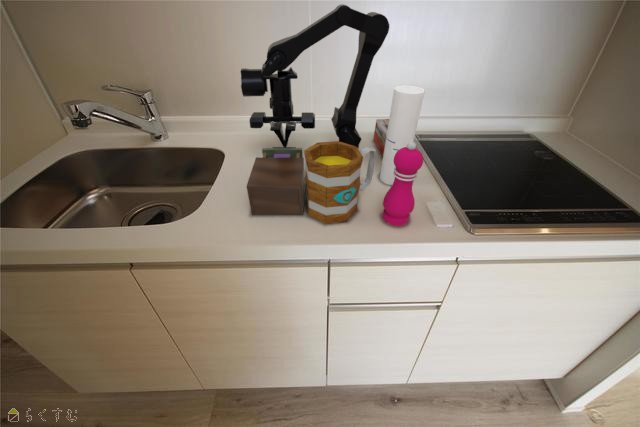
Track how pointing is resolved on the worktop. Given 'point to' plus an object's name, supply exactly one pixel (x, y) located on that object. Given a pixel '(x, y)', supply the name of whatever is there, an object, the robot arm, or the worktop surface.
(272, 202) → the cabinet
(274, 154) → the block
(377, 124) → the medicine box
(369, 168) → the mug
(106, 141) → the worktop surface
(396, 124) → the cylindrical container
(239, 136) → the worktop surface
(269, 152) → the drawer
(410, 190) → the pepper mill
